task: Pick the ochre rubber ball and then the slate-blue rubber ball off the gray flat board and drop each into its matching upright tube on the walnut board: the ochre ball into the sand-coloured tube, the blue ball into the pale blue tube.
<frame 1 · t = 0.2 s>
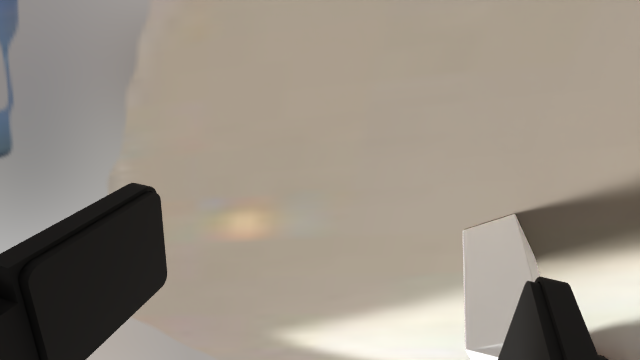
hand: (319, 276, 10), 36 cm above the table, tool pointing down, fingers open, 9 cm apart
milk: (498, 242, 47), on the table
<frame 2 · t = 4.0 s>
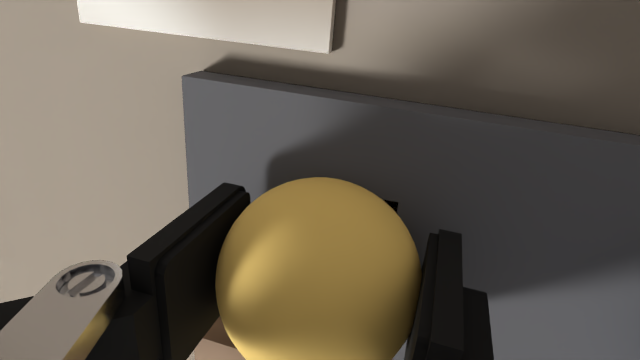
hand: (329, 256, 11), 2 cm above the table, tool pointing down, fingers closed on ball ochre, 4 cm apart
ball ochre: (318, 277, 10), point 3 cm above the table, touching gripper, gray flat board
gray flat board: (517, 259, 12), on the table
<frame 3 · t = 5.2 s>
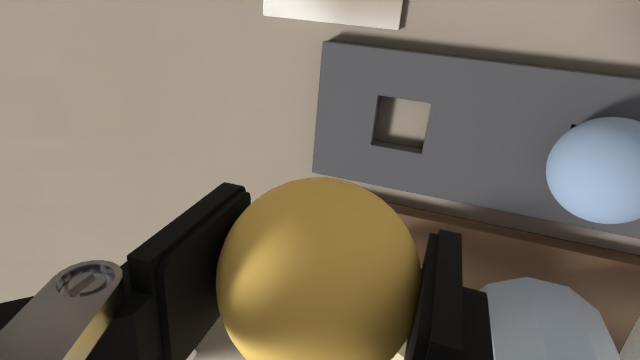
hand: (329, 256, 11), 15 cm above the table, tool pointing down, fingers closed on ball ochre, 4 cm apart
tube board: (445, 302, 28), on the table
ball ochre: (319, 277, 10), point 16 cm above the table, touching gripper
tube blue: (526, 335, 26), resting on tube board
gray flat board: (490, 135, 23), on the table
ball blue: (606, 170, 19), point 3 cm above the table, touching gray flat board
when the fingers open (11 cm above the table, at t = 6.5 s): ball ochre drops 9 cm, resting on tube board.
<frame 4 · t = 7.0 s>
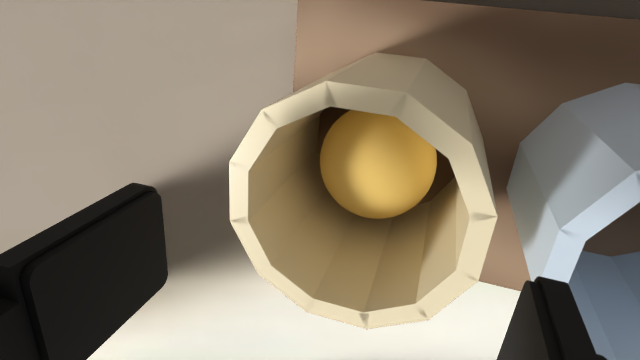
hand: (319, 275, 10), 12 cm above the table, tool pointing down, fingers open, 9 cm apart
tube board: (492, 154, 20), on the table
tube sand: (386, 144, 20), resting on tube board
ball ochre: (377, 161, 18), point 4 cm above the table, touching tube board
tube blue: (616, 184, 18), resting on tube board
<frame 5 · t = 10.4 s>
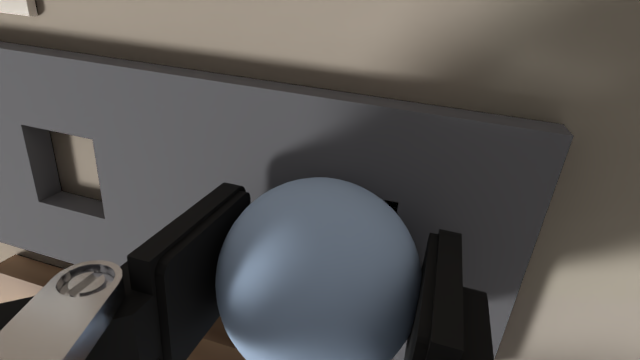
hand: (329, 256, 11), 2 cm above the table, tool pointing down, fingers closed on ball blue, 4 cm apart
gray flat board: (205, 189, 14), on the table
ball blue: (318, 277, 10), point 3 cm above the table, touching gripper, gray flat board
when the fingers open (11 cm above the table, at t = 12.9 s): ball blue drops 9 cm, resting on tube board.
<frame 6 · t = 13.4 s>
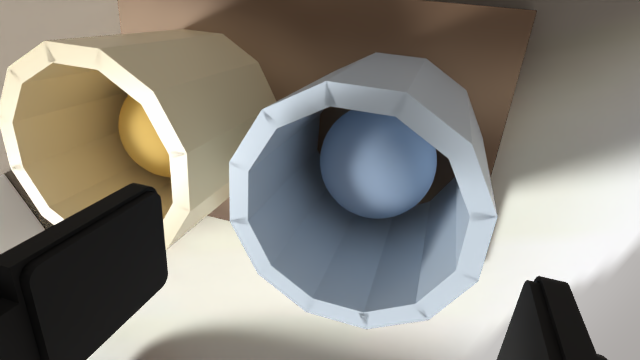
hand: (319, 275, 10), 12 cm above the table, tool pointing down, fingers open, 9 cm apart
milk: (11, 216, 33), on the table
tube board: (299, 121, 22), on the table
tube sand: (205, 112, 22), resting on tube board
ball ochre: (174, 127, 20), point 4 cm above the table, tilted 6°, touching tube board
tube blue: (386, 144, 20), resting on tube board
ball blue: (377, 161, 18), point 4 cm above the table, touching tube board
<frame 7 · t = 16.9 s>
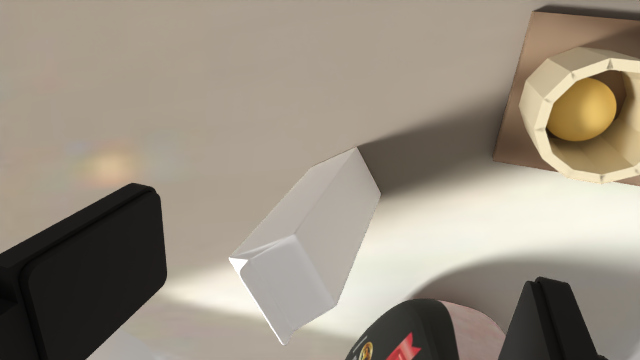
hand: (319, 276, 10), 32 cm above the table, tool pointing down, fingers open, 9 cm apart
packaged food: (439, 349, 50), on the table
milk: (346, 179, 45), on the table
tube board: (637, 106, 34), on the table
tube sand: (575, 100, 35), resting on tube board
ball ochre: (577, 109, 33), point 4 cm above the table, tilted 10°, touching tube board
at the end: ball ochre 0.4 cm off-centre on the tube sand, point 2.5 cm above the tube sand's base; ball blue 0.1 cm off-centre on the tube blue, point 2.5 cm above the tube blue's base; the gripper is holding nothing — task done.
